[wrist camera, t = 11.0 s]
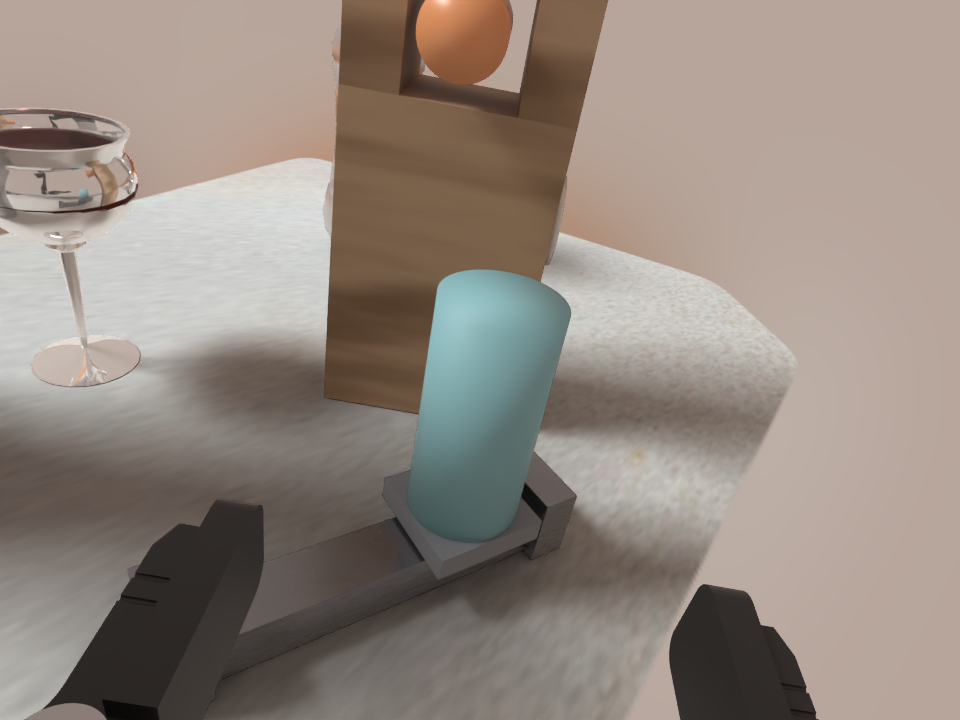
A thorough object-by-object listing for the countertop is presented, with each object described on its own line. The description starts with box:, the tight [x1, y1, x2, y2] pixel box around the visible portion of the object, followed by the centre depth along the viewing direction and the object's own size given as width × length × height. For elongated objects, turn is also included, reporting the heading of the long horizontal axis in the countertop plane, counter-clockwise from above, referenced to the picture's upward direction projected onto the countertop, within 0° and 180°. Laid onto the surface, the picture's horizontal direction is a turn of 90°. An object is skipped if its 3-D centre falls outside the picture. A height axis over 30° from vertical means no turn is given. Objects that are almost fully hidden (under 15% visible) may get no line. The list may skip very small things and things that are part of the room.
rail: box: [128, 451, 577, 702], centre depth 24 cm, size 4×16×3 cm, turn 123°
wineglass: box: [0, 108, 140, 387], centre depth 31 cm, size 7×7×12 cm
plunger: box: [416, 0, 513, 85], centre depth 25 cm, size 7×3×3 cm, turn 176°
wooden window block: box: [324, 0, 608, 414], centre depth 31 cm, size 6×10×24 cm, turn 86°
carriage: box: [382, 269, 571, 580], centre depth 23 cm, size 5×5×10 cm
